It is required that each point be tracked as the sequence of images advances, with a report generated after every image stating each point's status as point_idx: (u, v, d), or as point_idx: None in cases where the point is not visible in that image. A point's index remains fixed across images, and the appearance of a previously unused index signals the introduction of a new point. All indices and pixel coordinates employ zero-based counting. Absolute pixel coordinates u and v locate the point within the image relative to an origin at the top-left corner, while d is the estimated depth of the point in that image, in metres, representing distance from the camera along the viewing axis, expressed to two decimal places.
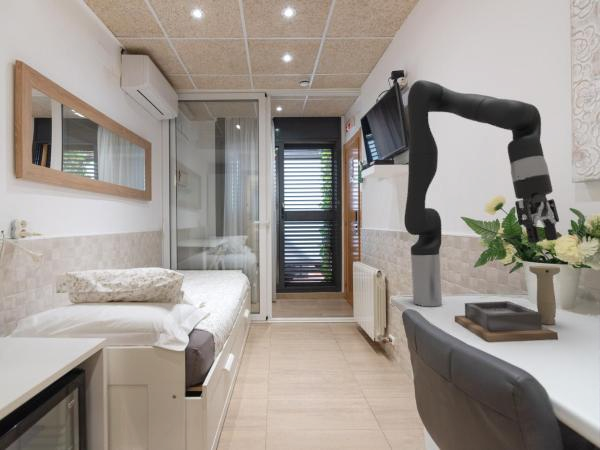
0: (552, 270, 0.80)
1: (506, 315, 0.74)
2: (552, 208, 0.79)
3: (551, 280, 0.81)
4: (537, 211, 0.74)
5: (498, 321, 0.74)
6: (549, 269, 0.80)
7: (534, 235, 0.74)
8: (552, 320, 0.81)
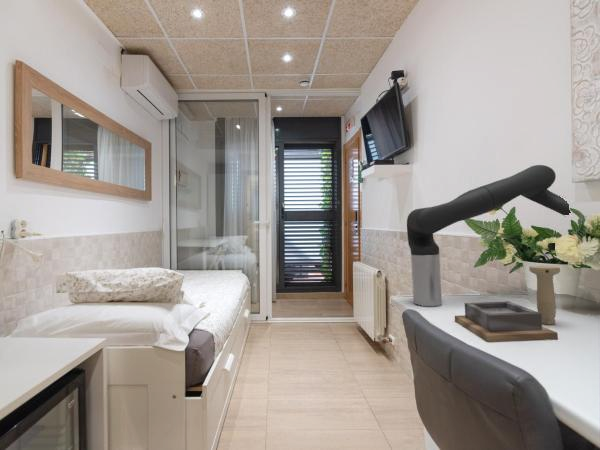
0: (553, 270, 0.80)
1: (506, 315, 0.74)
2: None
3: (551, 280, 0.81)
4: None
5: (498, 321, 0.74)
6: (549, 269, 0.80)
7: None
8: (552, 320, 0.81)
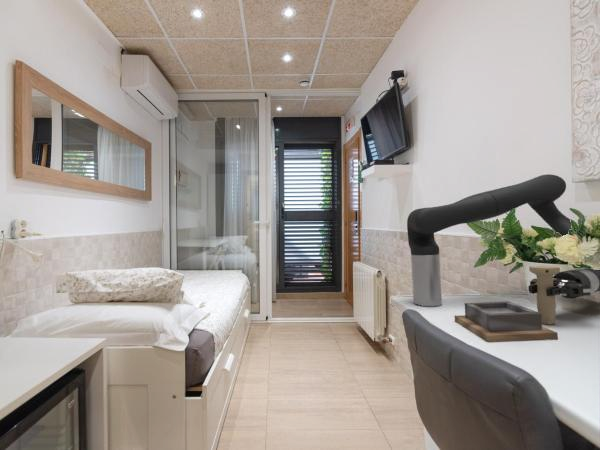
0: (552, 270, 0.80)
1: (506, 315, 0.74)
2: None
3: (551, 280, 0.81)
4: (566, 294, 0.82)
5: (498, 321, 0.74)
6: (549, 269, 0.80)
7: None
8: (552, 320, 0.81)
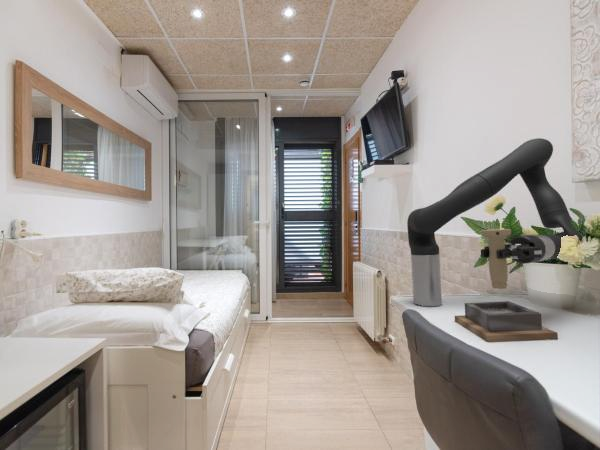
0: (503, 232, 0.77)
1: (506, 315, 0.74)
2: None
3: (502, 243, 0.79)
4: (518, 257, 0.80)
5: (498, 321, 0.74)
6: (499, 231, 0.78)
7: (505, 256, 0.77)
8: (503, 284, 0.79)
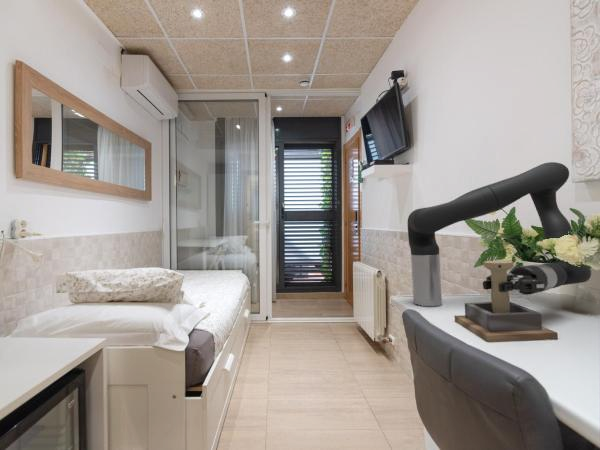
0: (505, 265, 0.77)
1: (506, 315, 0.74)
2: None
3: (504, 275, 0.78)
4: None
5: (498, 321, 0.74)
6: (502, 264, 0.78)
7: None
8: None
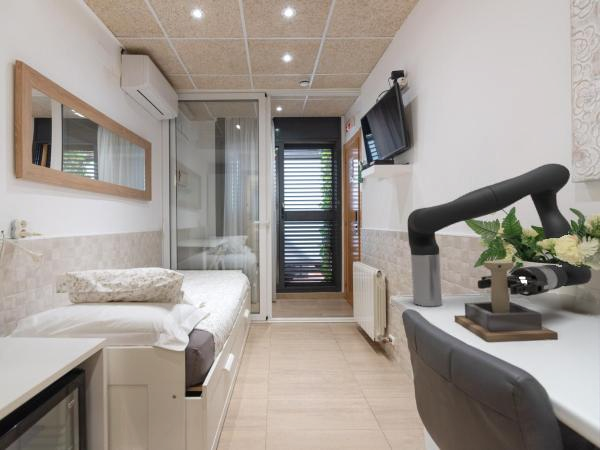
0: (505, 265, 0.77)
1: (506, 315, 0.74)
2: None
3: (504, 275, 0.78)
4: None
5: (498, 321, 0.74)
6: (501, 264, 0.78)
7: None
8: None
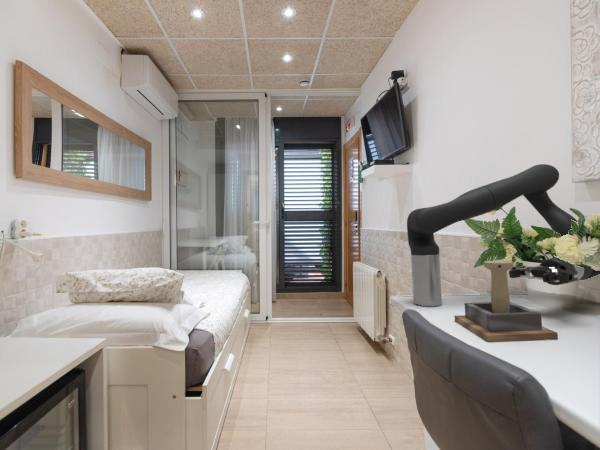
0: (505, 265, 0.77)
1: (506, 315, 0.74)
2: (523, 274, 0.93)
3: (504, 275, 0.78)
4: None
5: (498, 321, 0.74)
6: (502, 264, 0.78)
7: (551, 280, 0.81)
8: None
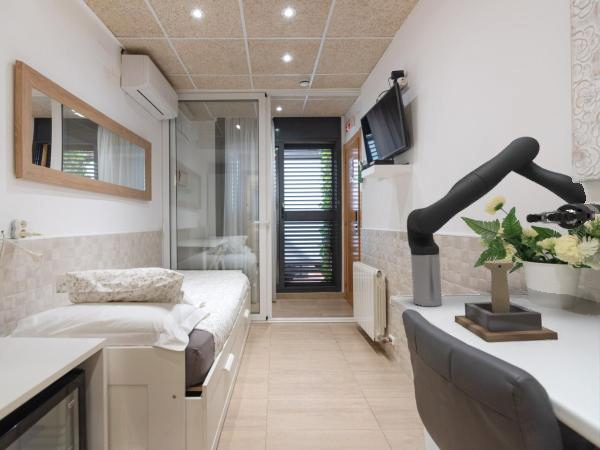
0: (505, 265, 0.77)
1: (506, 315, 0.74)
2: (539, 220, 0.94)
3: (504, 275, 0.78)
4: (574, 221, 0.86)
5: (498, 321, 0.74)
6: (502, 264, 0.78)
7: None
8: None
